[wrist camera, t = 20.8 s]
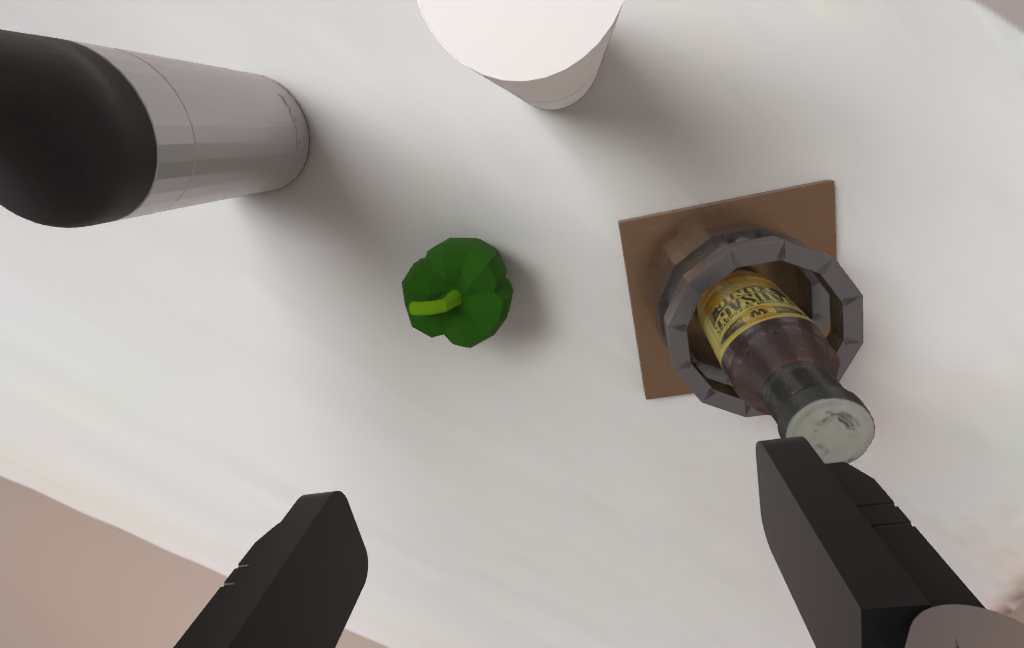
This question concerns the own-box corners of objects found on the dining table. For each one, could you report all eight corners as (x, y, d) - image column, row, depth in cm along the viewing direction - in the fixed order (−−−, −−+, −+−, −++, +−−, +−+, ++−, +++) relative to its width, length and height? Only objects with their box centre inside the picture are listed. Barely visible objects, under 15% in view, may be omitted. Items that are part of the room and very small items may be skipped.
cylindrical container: (564, -19, 38) (547, -252, 15) (618, 69, 40) (679, -19, 17) (486, 47, 40) (364, -67, 17) (540, 129, 42) (496, 126, 19)
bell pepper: (532, 244, 45) (520, 273, 36) (503, 330, 48) (485, 378, 39) (438, 212, 45) (401, 233, 36) (415, 300, 48) (376, 341, 39)
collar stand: (644, 394, 49) (659, 449, 40) (618, 221, 44) (628, 242, 35) (833, 367, 46) (891, 421, 37) (828, 179, 41) (893, 191, 32)
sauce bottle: (760, 252, 42) (904, 351, 24) (780, 322, 44) (929, 464, 25) (678, 282, 44) (754, 397, 25) (701, 348, 45) (787, 500, 27)
